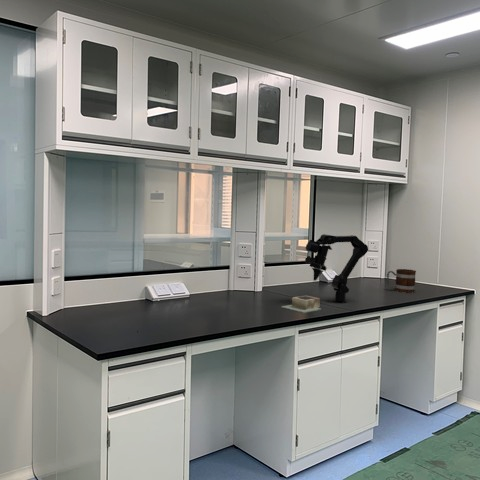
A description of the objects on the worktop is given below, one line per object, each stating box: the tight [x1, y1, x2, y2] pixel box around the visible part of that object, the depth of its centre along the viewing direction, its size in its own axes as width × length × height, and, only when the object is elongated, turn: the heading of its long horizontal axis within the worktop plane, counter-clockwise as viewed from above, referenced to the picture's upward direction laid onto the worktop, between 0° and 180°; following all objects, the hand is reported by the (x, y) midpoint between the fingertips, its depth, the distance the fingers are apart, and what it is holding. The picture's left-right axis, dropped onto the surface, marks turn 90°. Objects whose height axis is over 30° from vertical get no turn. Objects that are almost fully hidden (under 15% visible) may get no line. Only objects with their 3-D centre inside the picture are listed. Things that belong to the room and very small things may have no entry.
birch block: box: [291, 295, 321, 310], centre depth 265 cm, size 5×10×12 cm
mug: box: [386, 268, 417, 294], centre depth 333 cm, size 20×14×15 cm
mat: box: [281, 304, 322, 314], centre depth 263 cm, size 15×16×1 cm
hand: (314, 280), depth 279 cm, fingers closed
